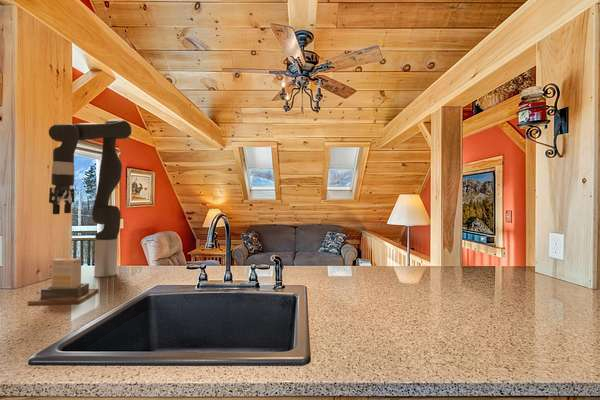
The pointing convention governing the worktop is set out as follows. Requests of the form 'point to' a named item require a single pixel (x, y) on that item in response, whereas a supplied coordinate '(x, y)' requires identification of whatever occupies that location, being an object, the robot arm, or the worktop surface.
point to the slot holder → (63, 295)
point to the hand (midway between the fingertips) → (61, 213)
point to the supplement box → (66, 273)
